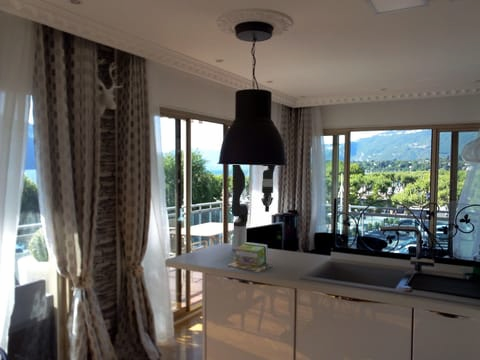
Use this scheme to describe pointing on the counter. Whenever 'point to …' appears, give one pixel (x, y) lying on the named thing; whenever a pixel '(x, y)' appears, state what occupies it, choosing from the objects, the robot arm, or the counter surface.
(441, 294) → the counter surface
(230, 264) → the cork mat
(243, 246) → the tea box
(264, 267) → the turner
